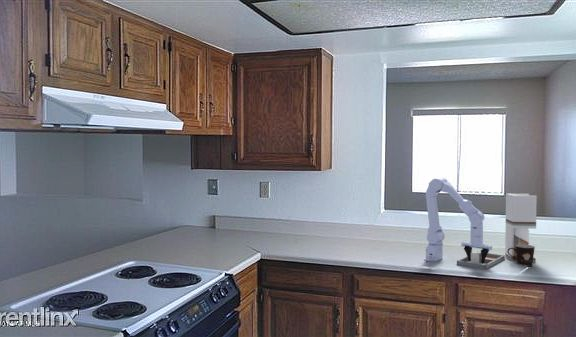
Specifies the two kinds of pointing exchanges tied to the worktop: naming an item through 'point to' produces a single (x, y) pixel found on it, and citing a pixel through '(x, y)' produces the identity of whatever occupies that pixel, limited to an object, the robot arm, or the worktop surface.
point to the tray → (489, 262)
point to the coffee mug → (524, 254)
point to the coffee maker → (519, 221)
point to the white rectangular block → (476, 257)
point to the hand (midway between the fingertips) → (476, 262)
